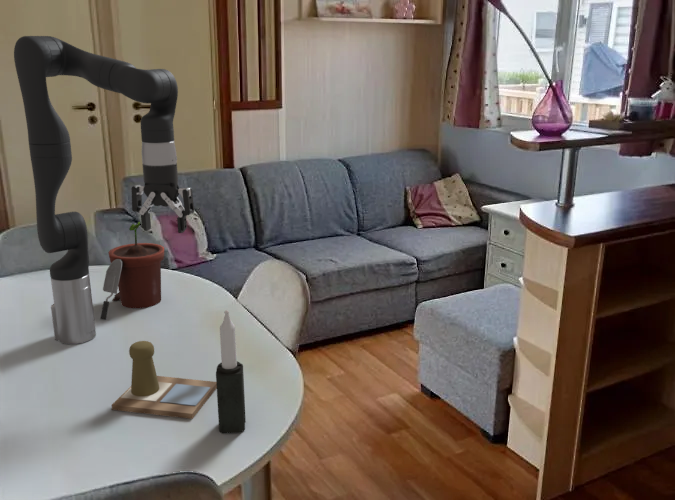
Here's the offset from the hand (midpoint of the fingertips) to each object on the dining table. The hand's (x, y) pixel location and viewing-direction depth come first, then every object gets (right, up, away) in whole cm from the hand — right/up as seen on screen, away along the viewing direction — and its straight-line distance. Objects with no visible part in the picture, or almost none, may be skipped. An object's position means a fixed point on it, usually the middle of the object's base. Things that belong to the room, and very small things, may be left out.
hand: (164, 231), depth 157 cm
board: (+3, -36, -10) cm, 38 cm away
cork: (-2, -35, -9) cm, 36 cm away
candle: (+19, -40, -21) cm, 49 cm away
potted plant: (-21, -21, +44) cm, 53 cm away
